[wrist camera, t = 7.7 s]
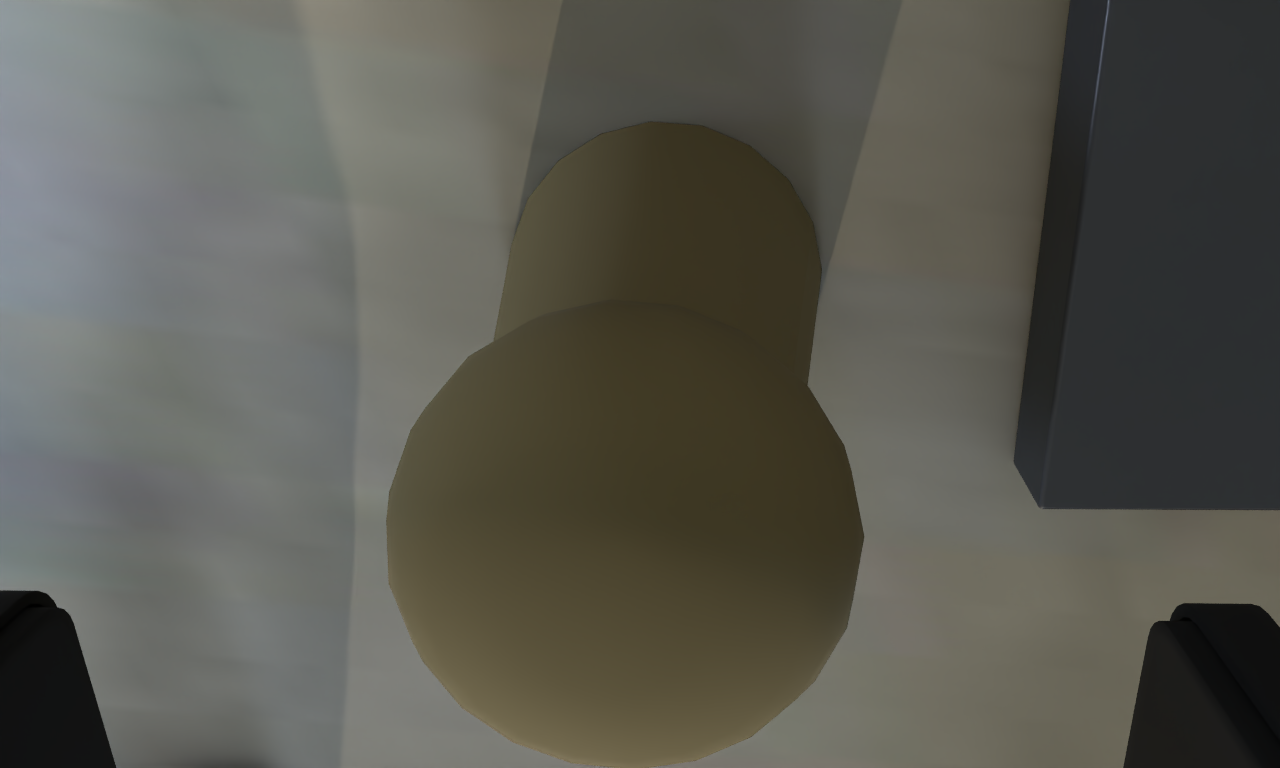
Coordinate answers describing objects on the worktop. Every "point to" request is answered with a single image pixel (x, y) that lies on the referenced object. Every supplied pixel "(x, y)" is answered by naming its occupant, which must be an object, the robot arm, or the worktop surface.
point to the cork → (635, 466)
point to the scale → (1159, 264)
